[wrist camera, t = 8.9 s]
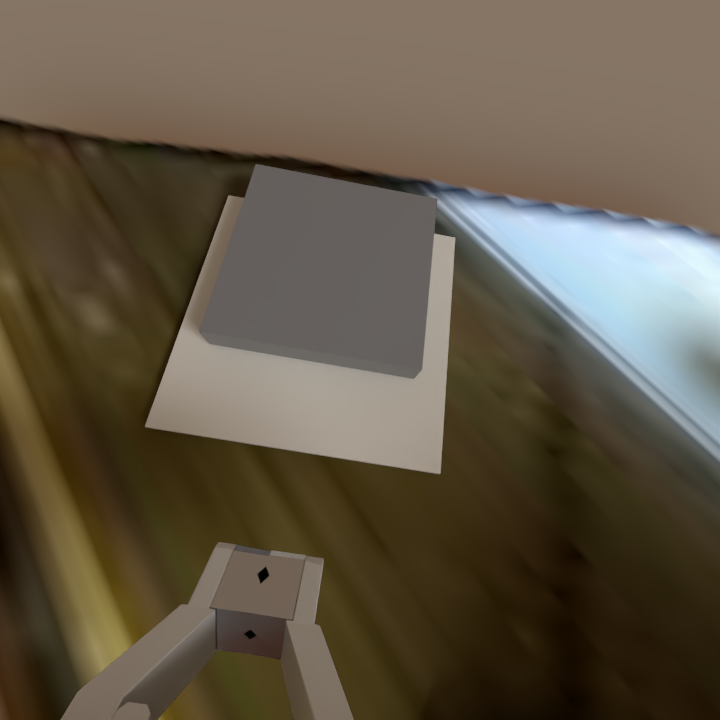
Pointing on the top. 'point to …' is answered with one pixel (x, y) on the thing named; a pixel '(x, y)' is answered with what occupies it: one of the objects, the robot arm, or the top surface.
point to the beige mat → (308, 385)
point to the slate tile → (326, 274)
